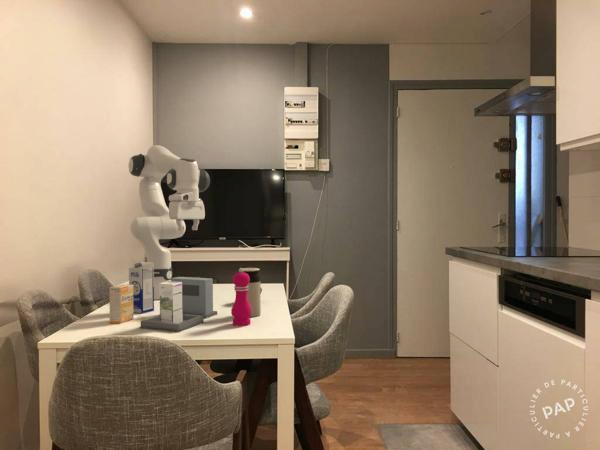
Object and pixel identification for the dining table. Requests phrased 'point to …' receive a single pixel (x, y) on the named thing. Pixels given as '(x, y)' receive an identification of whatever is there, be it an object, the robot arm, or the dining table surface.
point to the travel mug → (254, 291)
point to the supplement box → (121, 303)
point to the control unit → (197, 296)
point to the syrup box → (171, 302)
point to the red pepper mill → (241, 299)
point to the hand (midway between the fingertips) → (188, 230)
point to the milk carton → (142, 286)
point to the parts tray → (176, 327)
